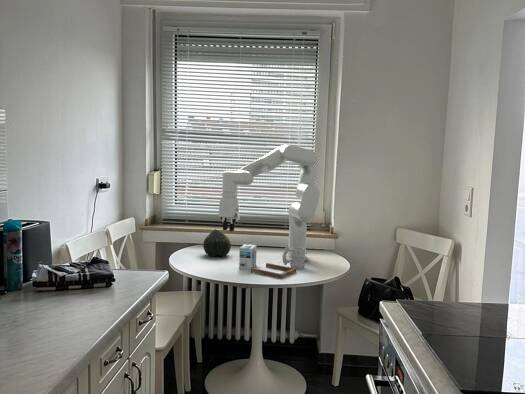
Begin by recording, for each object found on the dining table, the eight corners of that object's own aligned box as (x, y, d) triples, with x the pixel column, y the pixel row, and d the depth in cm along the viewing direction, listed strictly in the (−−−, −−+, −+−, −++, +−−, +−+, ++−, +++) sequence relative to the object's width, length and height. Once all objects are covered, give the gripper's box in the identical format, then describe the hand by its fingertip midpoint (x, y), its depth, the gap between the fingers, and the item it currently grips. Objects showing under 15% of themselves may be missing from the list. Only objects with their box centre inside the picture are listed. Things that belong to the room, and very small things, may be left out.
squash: (225, 250, 239) (229, 226, 248) (198, 249, 242) (203, 226, 251) (230, 263, 250) (234, 240, 259) (204, 262, 253) (209, 239, 262)
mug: (306, 269, 227) (307, 246, 225) (282, 269, 226) (283, 245, 225) (303, 266, 234) (304, 243, 233) (281, 265, 233) (282, 242, 232)
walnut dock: (267, 266, 230) (267, 262, 229) (296, 272, 220) (296, 268, 220) (250, 272, 218) (250, 268, 218) (280, 278, 208) (281, 274, 208)
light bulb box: (251, 270, 222) (252, 248, 221) (238, 269, 223) (239, 247, 222) (256, 265, 232) (257, 244, 231) (243, 264, 233) (244, 243, 232)
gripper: (212, 194, 233) (211, 229, 235) (237, 196, 224) (236, 233, 225) (221, 193, 239) (220, 227, 241) (246, 196, 230) (245, 231, 232)
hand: (228, 230), depth 233 cm, fingers open, 3 cm apart
